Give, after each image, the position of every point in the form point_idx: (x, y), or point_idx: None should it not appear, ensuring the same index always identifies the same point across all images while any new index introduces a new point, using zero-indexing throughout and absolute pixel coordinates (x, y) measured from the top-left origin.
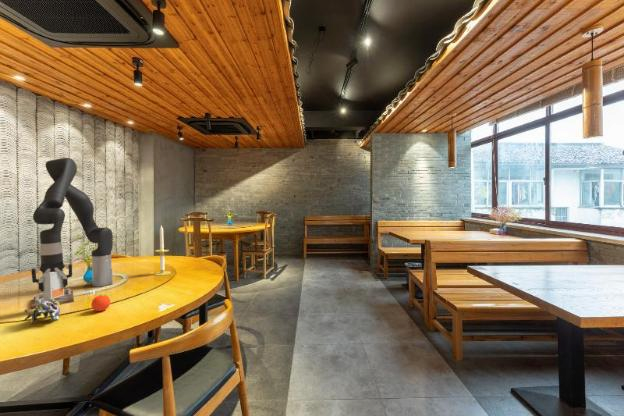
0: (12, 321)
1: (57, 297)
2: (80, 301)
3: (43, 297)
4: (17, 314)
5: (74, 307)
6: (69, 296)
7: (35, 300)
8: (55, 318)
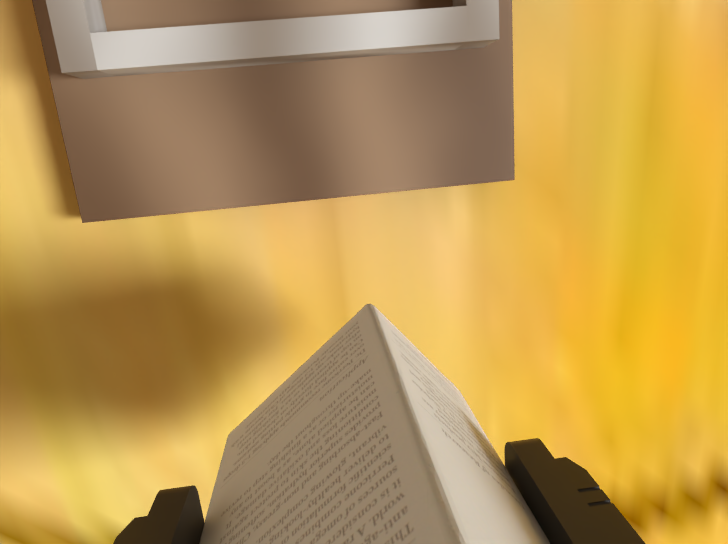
0: (47, 538)
1: (337, 52)
2: (563, 213)
3: (226, 452)
4: (7, 331)
5: (506, 411)
6: (473, 44)
7: (72, 70)
8: None
